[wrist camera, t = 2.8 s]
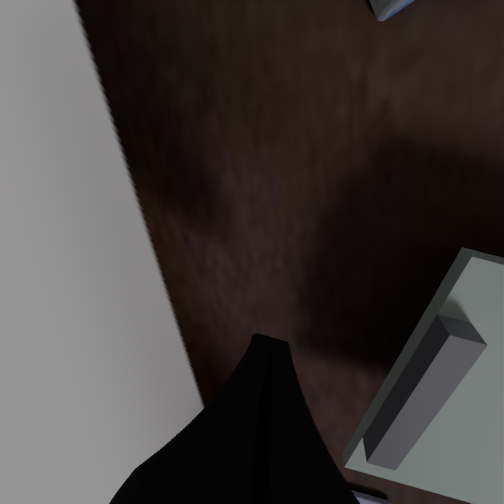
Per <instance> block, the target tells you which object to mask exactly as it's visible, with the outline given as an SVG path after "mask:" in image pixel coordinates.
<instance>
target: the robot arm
mask: <svg viewBox="0 0 504 504" xmlns="http://www.w3.org/2000/svg"><path fill="white" fill-rule="evenodd" d="M109 504H391V503H390V502H389V501H387V500H385V499H381V498H378V497H374V496H371V495H367V494H364V493H360V492H357V491H353V490H351V489H350V487H349V486H348V484H347V482H346V480H345V479H344V477H343V475H342V474H341V472H340V470H339V469H338V467H337V465H336V464H335V462H334V460H333V459H332V457H331V455H330V453H329V451H328V449H327V447H326V445H325V444H324V442H323V440H322V438H321V436H320V433H319V431H318V429H317V427H316V425H315V423H314V421H313V418H312V416H311V414H310V411H309V409H308V406H307V404H306V401H305V398H304V396H303V393H302V390H301V387H300V384H299V381H298V378H297V375H296V372H295V368H294V364H293V361H292V356H291V352H290V347H289V344H288V342H287V341H283V340H280V339H276V338H272V337H269V336H265V335H261V334H258V333H255V334H253V335H252V339H251V342H250V344H249V346H248V349H247V351H246V352H245V354H244V356H243V358H242V359H241V361H240V363H239V364H238V366H237V367H236V369H235V370H234V372H233V373H232V375H231V376H230V377H229V379H228V380H227V381H226V383H225V384H224V385H223V387H222V388H221V389H220V391H219V392H218V393H217V394H216V395H215V397H214V398H213V399H212V400H211V401H210V402H209V403H208V405H207V406H206V407H205V408H204V409H203V410H202V411H201V412H200V413H199V414H198V415H197V416H196V417H195V418H194V419H193V420H192V421H191V422H190V423H189V424H188V426H186V427H185V428H184V429H183V430H182V431H181V432H180V433H178V434H177V435H176V436H175V437H174V438H173V439H172V440H171V441H169V442H168V443H167V444H166V445H165V446H164V447H163V448H161V449H160V450H159V451H158V452H156V453H155V454H154V455H152V456H151V457H150V458H148V459H147V460H146V461H145V462H143V463H142V464H141V465H139V466H138V467H137V468H136V469H135V470H134V471H133V472H132V474H131V475H130V476H129V477H128V478H127V480H126V481H125V482H124V483H123V485H122V486H121V487H120V489H119V490H118V491H117V493H116V494H115V496H114V497H113V499H112V500H111V502H110V503H109Z"/></svg>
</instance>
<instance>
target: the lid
mask: <svg viewBox="0 0 504 504" xmlns="http://www.w3.org/2000/svg"><path fill="white" fill-rule="evenodd" d="M343 457H344V466H345V467H346V468H350V469H353V470H357V471H360V472H364V473H367V474H371V475H374V476H378V477H381V478H385V479H388V480H392V481H395V482H399V483H402V484H406V485H409V486H413V487H417V488H420V489H424V490H427V491H431V492H434V493H438V494H441V495H445V496H448V497H452V498H455V499H459V500H462V501H466V502H469V503H473V504H504V258H502V257H498V256H494V255H490V254H486V253H482V252H478V251H475V250H471V249H467V248H463V247H462V248H461V250H460V252H459V254H458V255H457V257H456V259H455V260H454V262H453V264H452V266H451V267H450V269H449V271H448V273H447V274H446V276H445V278H444V279H443V281H442V283H441V285H440V286H439V288H438V290H437V292H436V293H435V295H434V297H433V298H432V300H431V302H430V304H429V305H428V307H427V309H426V310H425V312H424V314H423V316H422V317H421V319H420V321H419V323H418V324H417V326H416V328H415V329H414V331H413V333H412V335H411V336H410V338H409V340H408V341H407V343H406V345H405V347H404V348H403V350H402V352H401V354H400V355H399V357H398V359H397V360H396V362H395V364H394V366H393V367H392V369H391V371H390V372H389V374H388V376H387V378H386V379H385V381H384V383H383V385H382V386H381V388H380V390H379V391H378V393H377V395H376V397H375V398H374V400H373V402H372V403H371V405H370V407H369V409H368V410H367V412H366V414H365V416H364V417H363V419H362V421H361V422H360V424H359V426H358V428H357V429H356V431H355V433H354V435H353V436H352V438H351V440H350V441H349V443H348V445H347V447H346V448H345V450H344V452H343Z"/></svg>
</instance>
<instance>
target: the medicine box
mask: <svg viewBox="0 0 504 504" xmlns="http://www.w3.org/2000/svg"><path fill="white" fill-rule="evenodd" d="M369 1H370V3H371V6H372V8H373V11H374V13H375V15H376V18H377V20H379V21H384V20H386V19H388V18H389V17H391V16H392V15H394V14H395V13H396V12H398V11H399V10H401V9H402V8H404V7H405V6H407V5H408V4H410V3H411V2H413V1H414V0H369Z"/></svg>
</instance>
